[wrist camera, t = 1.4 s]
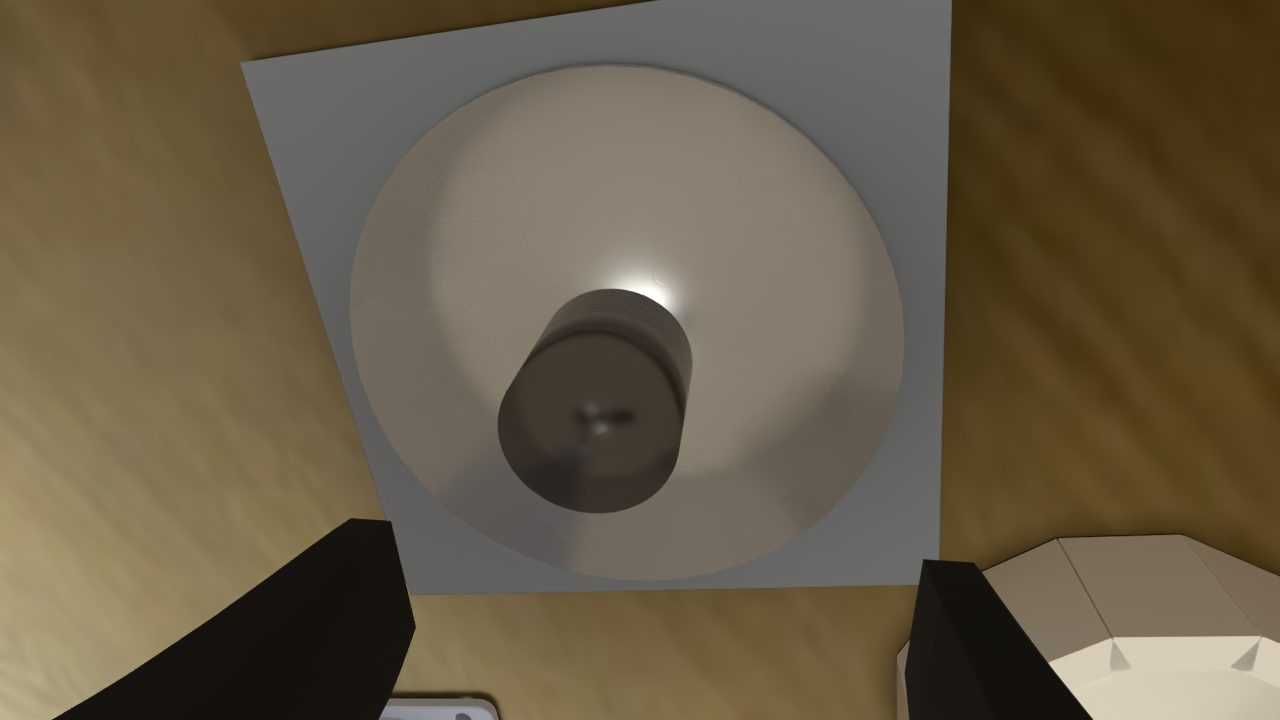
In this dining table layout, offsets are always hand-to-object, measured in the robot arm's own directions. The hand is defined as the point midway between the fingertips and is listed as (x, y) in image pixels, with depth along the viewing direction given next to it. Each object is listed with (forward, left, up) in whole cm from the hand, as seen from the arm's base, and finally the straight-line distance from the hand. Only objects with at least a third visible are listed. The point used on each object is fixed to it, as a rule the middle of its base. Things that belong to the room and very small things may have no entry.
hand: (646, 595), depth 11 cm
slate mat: (-2, 0, -10) cm, 10 cm away
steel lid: (-2, 0, -9) cm, 9 cm away
